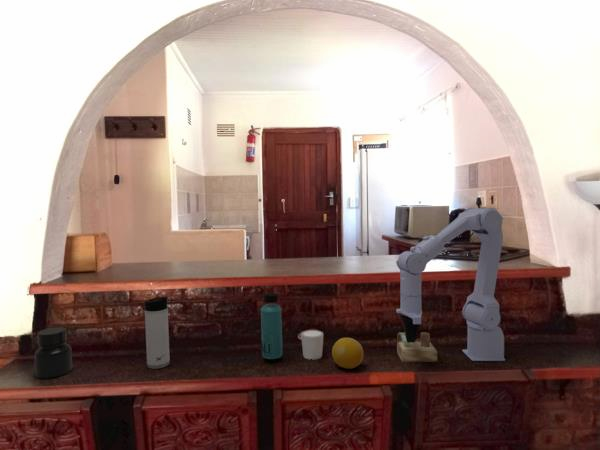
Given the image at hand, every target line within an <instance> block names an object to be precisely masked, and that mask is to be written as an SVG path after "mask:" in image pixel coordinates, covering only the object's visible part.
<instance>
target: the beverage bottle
mask: <svg viewBox="0 0 600 450" xmlns="http://www.w3.org/2000/svg"><path fill="white" fill-rule="evenodd" d="M278 301H279V300H278V294H277V293H274V292H268V293H265V294H264V295H263V302H264V303H266V304H263V306H262V307H261V308H260V331H261V333H260V334H261V341H260V345H261V347H260V349H261V352H260V354H261V355H262V357H263V358H264V359H267V360H275V359H280V358H281V357H282V356H283V353H284V348H283V346H284V344H283V331H282V330H283V327H282V326H283V325H282V323H283V322H282V321H283V320H282V307H281V306H280V305H279V304H277V302H278Z"/></svg>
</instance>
